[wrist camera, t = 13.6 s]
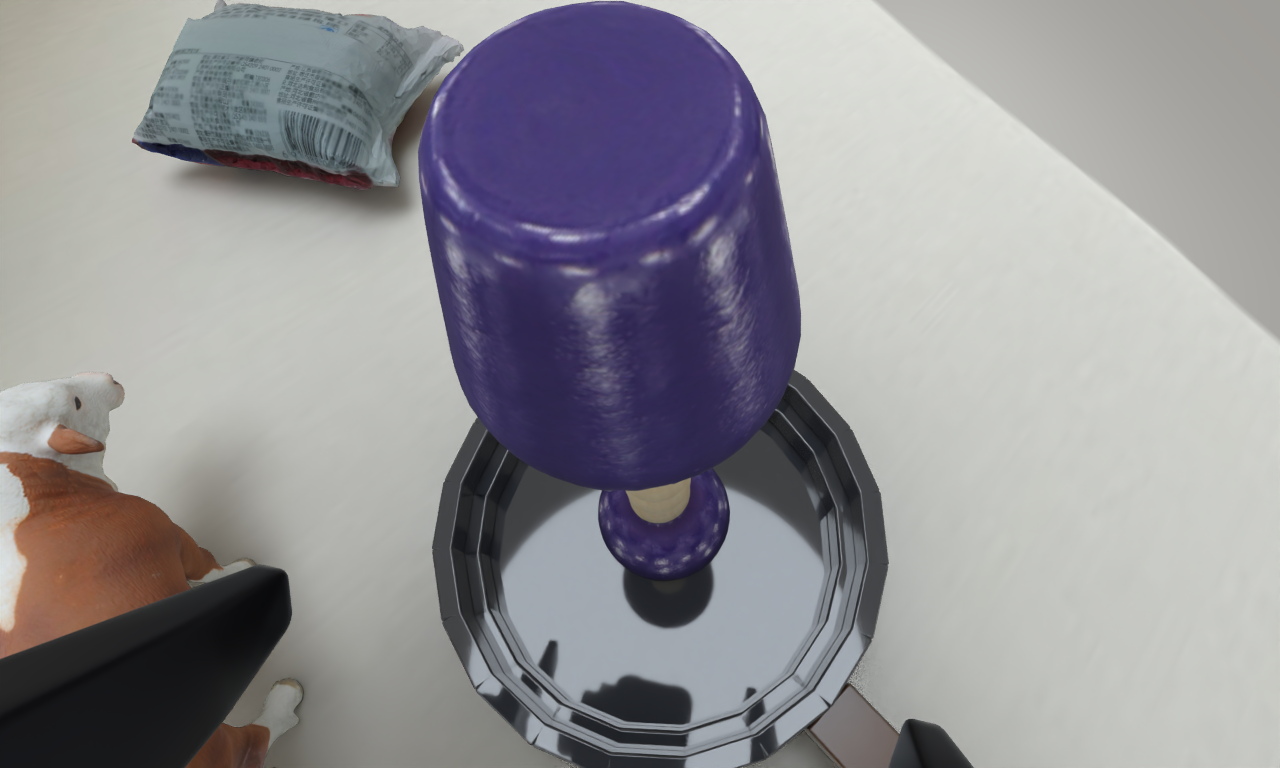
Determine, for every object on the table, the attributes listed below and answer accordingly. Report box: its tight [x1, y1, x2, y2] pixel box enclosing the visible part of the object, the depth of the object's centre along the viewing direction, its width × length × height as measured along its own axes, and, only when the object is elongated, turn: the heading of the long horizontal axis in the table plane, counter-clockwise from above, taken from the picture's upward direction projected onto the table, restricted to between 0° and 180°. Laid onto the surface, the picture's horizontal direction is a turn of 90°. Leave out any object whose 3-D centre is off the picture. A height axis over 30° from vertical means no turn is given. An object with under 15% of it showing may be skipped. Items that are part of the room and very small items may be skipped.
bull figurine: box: [0, 372, 303, 768], centre depth 17 cm, size 4×13×8 cm, turn 26°
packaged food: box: [132, 0, 464, 190], centre depth 27 cm, size 9×12×5 cm
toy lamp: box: [418, 1, 801, 581], centre depth 13 cm, size 5×5×17 cm
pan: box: [432, 370, 889, 768], centre depth 19 cm, size 13×13×3 cm
